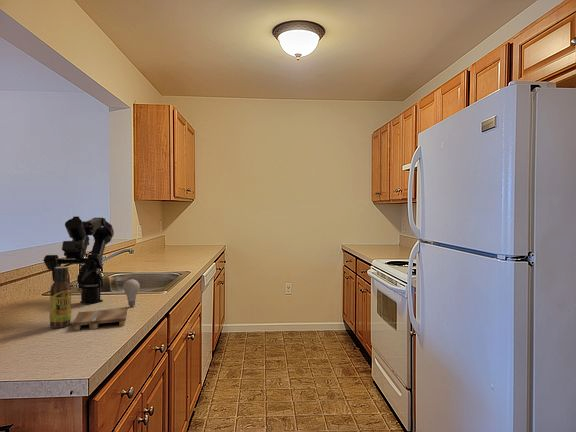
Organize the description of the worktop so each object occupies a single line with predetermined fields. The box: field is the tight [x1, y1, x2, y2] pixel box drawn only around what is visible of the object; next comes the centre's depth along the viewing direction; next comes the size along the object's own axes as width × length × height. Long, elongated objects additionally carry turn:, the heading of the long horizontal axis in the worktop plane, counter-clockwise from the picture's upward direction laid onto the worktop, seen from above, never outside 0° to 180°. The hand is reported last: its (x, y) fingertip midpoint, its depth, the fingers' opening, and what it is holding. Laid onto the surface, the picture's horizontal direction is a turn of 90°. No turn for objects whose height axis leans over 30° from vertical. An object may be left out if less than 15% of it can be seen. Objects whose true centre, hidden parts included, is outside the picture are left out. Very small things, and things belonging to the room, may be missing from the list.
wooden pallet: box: [71, 307, 128, 331], centre depth 137 cm, size 16×14×2 cm
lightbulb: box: [122, 278, 141, 308], centre depth 159 cm, size 6×6×11 cm
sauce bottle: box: [49, 265, 72, 329], centre depth 133 cm, size 6×6×20 cm
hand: (67, 280), depth 141 cm, fingers open, 9 cm apart
